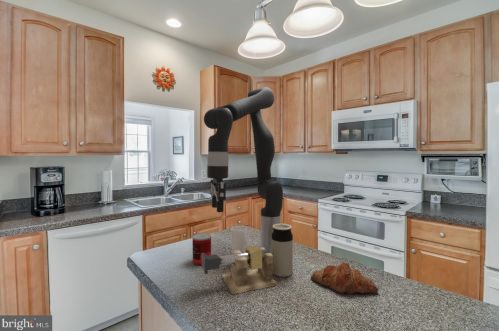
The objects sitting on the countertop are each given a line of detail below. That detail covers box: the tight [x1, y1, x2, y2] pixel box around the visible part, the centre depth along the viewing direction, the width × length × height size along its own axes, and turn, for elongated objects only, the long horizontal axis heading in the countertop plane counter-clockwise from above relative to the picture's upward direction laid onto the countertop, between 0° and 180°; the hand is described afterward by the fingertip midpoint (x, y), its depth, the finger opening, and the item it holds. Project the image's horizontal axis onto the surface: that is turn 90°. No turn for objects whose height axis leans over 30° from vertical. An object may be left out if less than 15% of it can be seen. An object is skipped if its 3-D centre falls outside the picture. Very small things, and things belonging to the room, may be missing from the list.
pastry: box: [310, 261, 379, 295], centre depth 87 cm, size 17×15×8 cm
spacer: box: [246, 245, 262, 270], centre depth 90 cm, size 4×6×6 cm, turn 20°
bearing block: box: [221, 246, 277, 295], centre depth 89 cm, size 16×12×10 cm
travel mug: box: [272, 223, 294, 278], centre depth 96 cm, size 8×8×18 cm
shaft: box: [201, 250, 268, 275], centre depth 88 cm, size 23×6×5 cm, turn 110°
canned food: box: [192, 232, 212, 266], centre depth 107 cm, size 8×8×11 cm
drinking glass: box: [230, 225, 248, 253], centre depth 104 cm, size 7×7×15 cm
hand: (217, 209), depth 91 cm, fingers open, 8 cm apart
